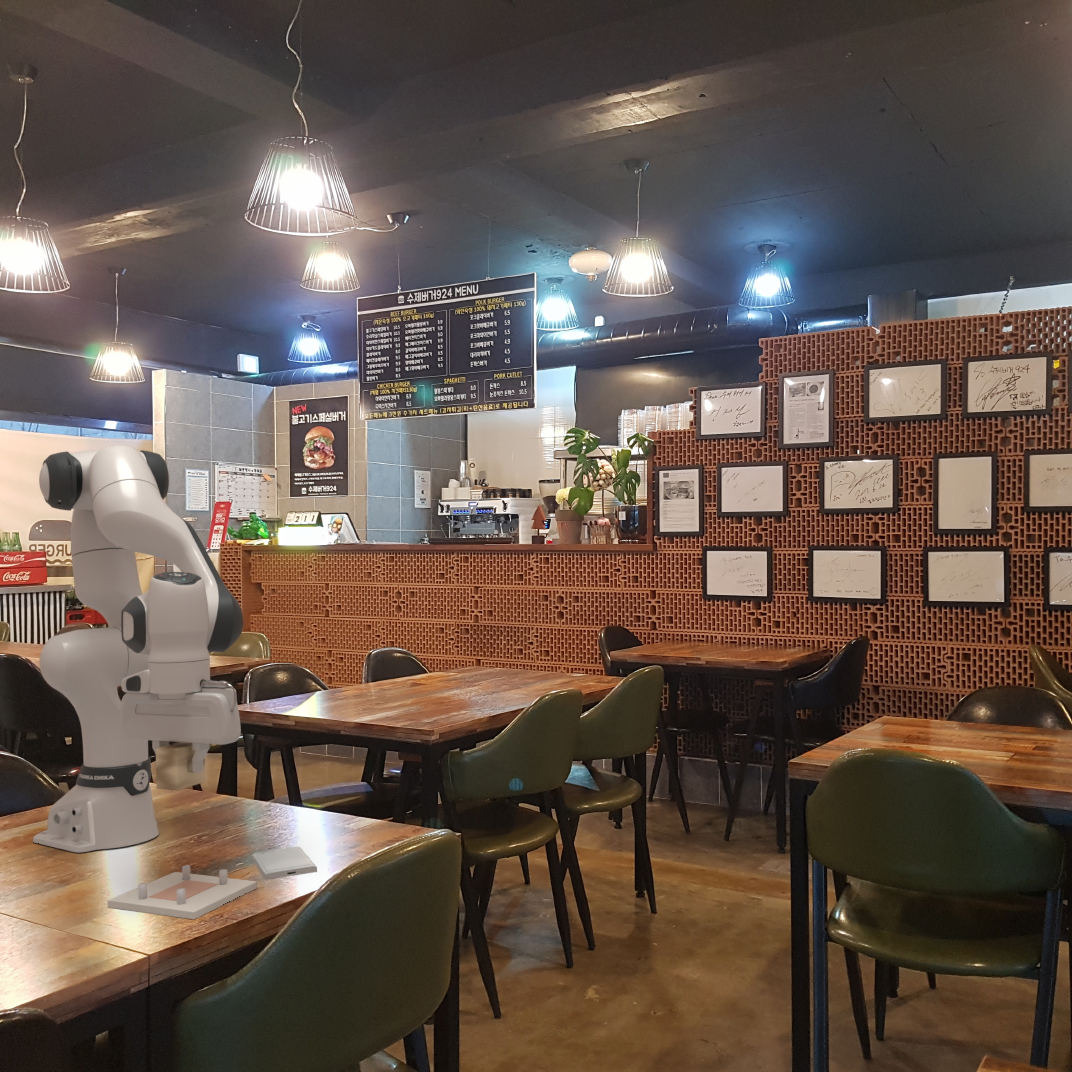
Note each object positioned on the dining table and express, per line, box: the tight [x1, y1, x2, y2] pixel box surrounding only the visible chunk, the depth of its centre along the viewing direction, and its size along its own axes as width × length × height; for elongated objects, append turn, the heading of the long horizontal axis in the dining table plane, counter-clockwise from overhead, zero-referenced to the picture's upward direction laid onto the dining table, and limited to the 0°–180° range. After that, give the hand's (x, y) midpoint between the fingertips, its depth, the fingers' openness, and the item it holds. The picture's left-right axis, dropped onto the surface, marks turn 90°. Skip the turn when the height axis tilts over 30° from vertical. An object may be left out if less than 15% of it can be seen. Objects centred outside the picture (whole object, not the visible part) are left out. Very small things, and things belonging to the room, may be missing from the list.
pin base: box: [107, 864, 258, 920], centre depth 151 cm, size 16×14×3 cm
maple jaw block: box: [155, 742, 206, 792], centre depth 151 cm, size 4×6×6 cm, turn 158°
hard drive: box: [251, 846, 318, 881], centre depth 165 cm, size 2×8×12 cm
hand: (181, 771), depth 151 cm, fingers closed on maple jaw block, 4 cm apart
